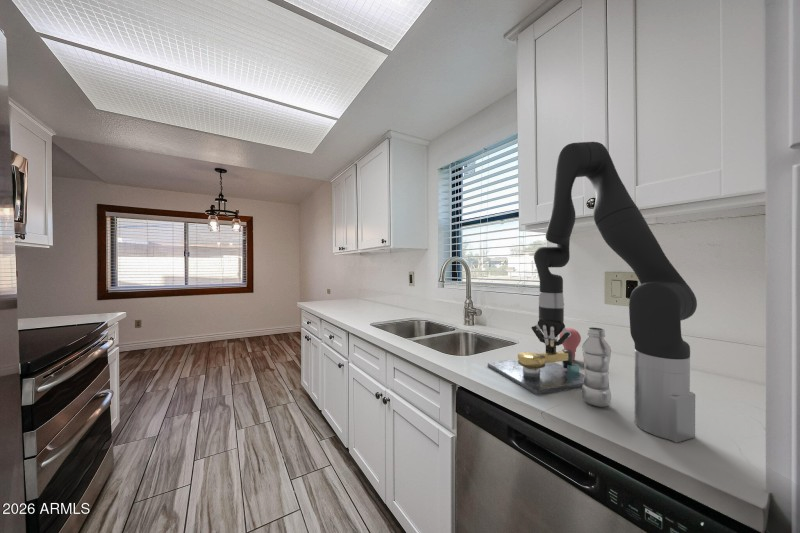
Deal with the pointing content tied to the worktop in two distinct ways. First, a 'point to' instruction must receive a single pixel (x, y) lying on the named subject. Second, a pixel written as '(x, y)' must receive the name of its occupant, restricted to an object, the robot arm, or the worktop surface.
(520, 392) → the worktop surface
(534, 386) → the base
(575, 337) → the light bulb
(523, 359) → the gold long piece
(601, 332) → the plastic bottle
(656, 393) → the robot arm
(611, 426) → the worktop surface
